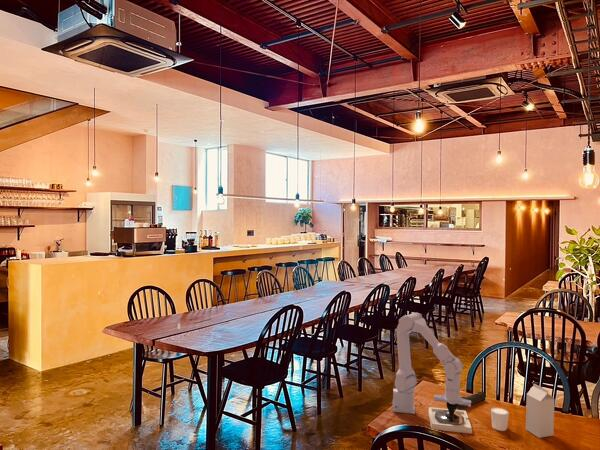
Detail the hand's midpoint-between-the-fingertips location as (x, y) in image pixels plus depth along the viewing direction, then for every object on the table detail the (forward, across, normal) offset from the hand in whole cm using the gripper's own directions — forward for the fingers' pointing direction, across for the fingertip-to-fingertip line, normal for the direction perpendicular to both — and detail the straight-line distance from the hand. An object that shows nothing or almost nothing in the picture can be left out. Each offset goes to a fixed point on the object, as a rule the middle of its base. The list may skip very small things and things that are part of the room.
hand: (451, 420), depth 183 cm
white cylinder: (+3, +19, +7) cm, 20 cm away
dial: (+1, -1, +4) cm, 4 cm away
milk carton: (+3, +34, +8) cm, 35 cm away
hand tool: (+3, +8, +26) cm, 27 cm away
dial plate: (+3, -1, +4) cm, 5 cm away
